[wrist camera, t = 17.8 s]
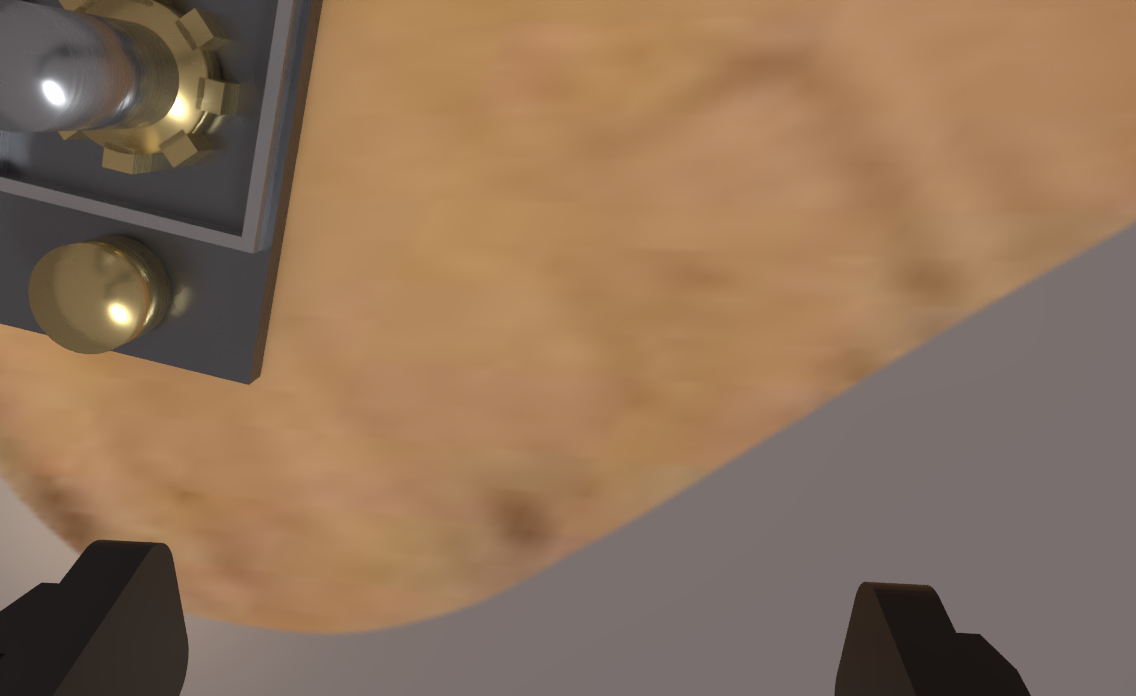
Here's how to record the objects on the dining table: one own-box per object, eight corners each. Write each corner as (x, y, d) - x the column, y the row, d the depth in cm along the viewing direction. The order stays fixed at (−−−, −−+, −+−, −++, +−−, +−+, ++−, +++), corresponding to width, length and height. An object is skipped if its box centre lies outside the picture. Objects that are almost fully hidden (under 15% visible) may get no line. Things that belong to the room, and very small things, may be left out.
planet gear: (66, -43, 33) (-103, -91, 25) (252, 4, 33) (141, -29, 25) (47, 146, 34) (-116, 156, 27) (224, 190, 35) (112, 213, 27)
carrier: (30, -113, 33) (-40, -140, 30) (328, -37, 34) (295, -55, 30) (-7, 310, 37) (-73, 331, 34) (260, 376, 38) (222, 404, 34)
